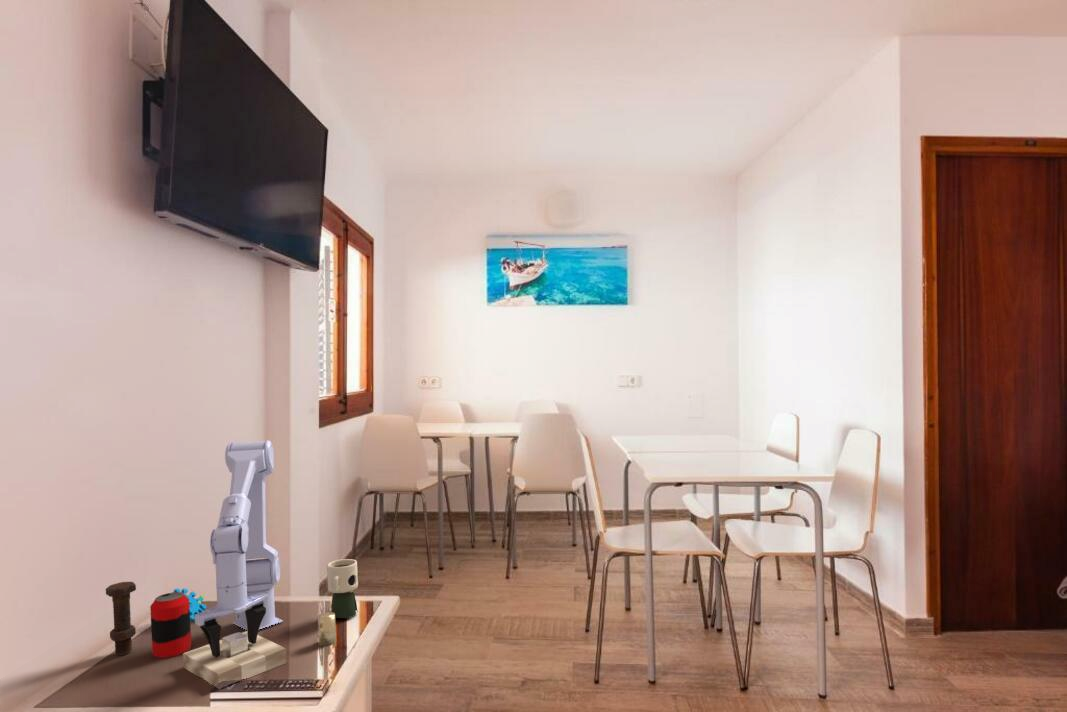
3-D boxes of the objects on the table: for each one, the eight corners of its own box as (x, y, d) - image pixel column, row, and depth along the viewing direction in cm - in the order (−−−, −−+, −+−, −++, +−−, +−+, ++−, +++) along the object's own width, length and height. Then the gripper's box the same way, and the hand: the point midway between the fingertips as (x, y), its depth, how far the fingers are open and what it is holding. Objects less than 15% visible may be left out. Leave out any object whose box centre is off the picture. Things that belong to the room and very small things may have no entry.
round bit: (316, 643, 151) (314, 616, 151) (330, 637, 154) (329, 610, 154) (325, 647, 149) (323, 619, 149) (339, 641, 151) (338, 614, 151)
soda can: (180, 641, 155) (178, 588, 155) (198, 648, 151) (195, 594, 151) (146, 653, 149) (143, 599, 149) (163, 661, 145) (160, 605, 145)
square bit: (223, 666, 141) (221, 637, 141) (240, 660, 144) (238, 631, 144) (231, 671, 139) (230, 642, 139) (248, 664, 142) (247, 635, 142)
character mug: (351, 624, 160) (349, 569, 160) (322, 625, 161) (319, 570, 161) (365, 607, 171) (363, 556, 171) (337, 608, 172) (335, 556, 172)
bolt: (123, 659, 147) (120, 590, 147) (103, 658, 148) (100, 589, 148) (143, 648, 152) (140, 581, 152) (124, 647, 153) (121, 580, 153)
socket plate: (183, 667, 141) (183, 653, 141) (249, 643, 152) (248, 630, 152) (219, 689, 131) (218, 674, 131) (286, 662, 142) (285, 648, 142)
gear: (189, 621, 162) (164, 590, 165) (172, 639, 163) (148, 608, 165) (218, 610, 173) (194, 581, 175) (202, 627, 173) (179, 598, 176)
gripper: (204, 597, 133) (207, 667, 133) (274, 577, 144) (277, 641, 144) (189, 590, 138) (192, 657, 138) (257, 571, 149) (260, 633, 149)
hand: (234, 648), depth 141 cm, fingers open, 7 cm apart
